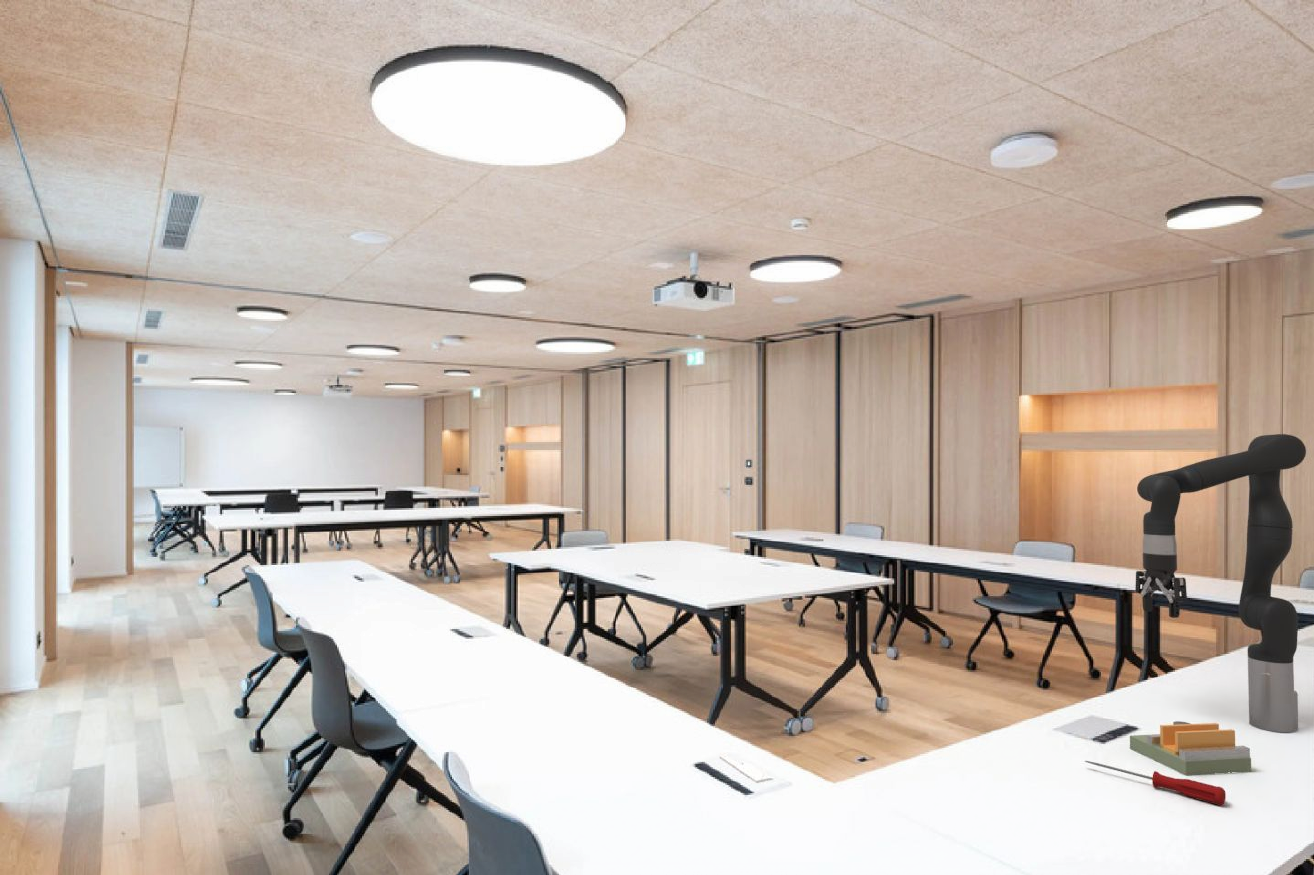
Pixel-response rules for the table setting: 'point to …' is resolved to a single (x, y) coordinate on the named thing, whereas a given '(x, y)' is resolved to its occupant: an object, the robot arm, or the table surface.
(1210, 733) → the discharge chute
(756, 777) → the white flat rectangular slab
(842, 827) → the table surface
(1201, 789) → the screwdriver
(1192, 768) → the marble run board
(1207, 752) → the chute cradle
